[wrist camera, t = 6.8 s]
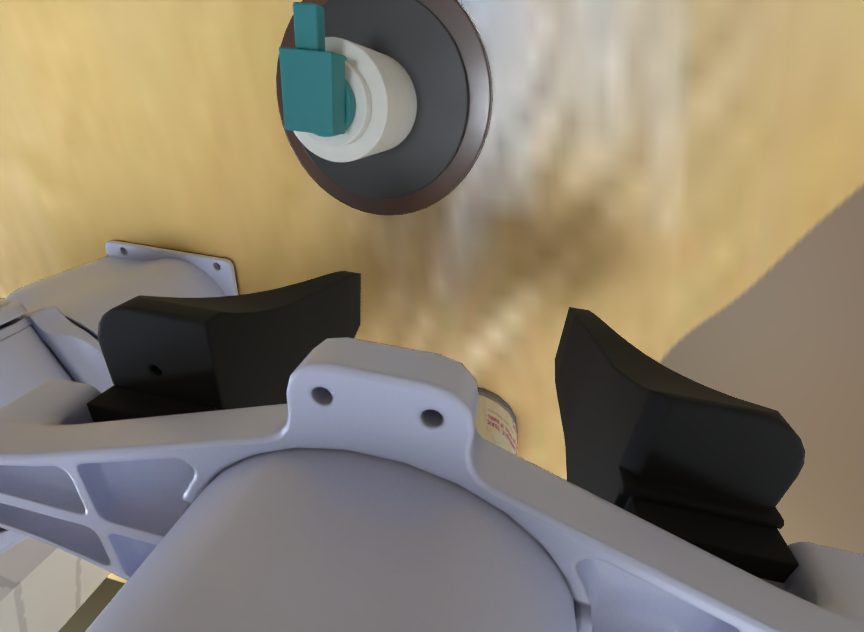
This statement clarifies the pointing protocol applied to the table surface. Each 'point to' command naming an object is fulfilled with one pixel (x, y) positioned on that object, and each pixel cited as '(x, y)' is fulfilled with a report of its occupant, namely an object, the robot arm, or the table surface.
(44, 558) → the pizza boxes
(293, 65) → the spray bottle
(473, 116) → the turntable base
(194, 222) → the table surface
